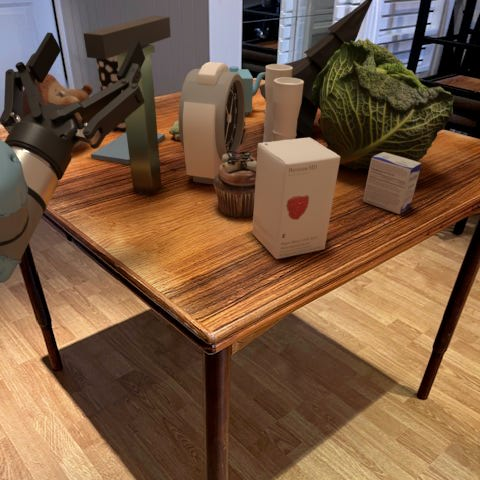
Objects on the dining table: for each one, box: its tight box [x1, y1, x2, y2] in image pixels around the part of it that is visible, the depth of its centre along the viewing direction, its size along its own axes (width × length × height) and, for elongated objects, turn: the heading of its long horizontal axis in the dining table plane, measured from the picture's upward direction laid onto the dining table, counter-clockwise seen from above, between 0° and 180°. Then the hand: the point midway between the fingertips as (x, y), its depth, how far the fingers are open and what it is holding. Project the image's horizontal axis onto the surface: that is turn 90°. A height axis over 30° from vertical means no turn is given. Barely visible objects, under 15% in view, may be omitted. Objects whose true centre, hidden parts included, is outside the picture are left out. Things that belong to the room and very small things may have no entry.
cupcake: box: [213, 150, 257, 219], centre depth 82 cm, size 10×10×10 cm
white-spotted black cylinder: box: [95, 55, 126, 133], centre depth 112 cm, size 8×8×20 cm
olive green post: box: [117, 44, 163, 196], centre depth 82 cm, size 5×5×24 cm
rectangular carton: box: [251, 137, 340, 260], centre depth 71 cm, size 9×9×15 cm
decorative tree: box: [259, 0, 373, 139], centre depth 110 cm, size 15×15×35 cm
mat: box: [90, 132, 166, 165], centre depth 107 cm, size 18×9×1 cm, turn 162°
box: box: [362, 152, 422, 215], centre depth 85 cm, size 8×4×9 cm, turn 47°
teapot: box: [228, 65, 266, 117], centre depth 128 cm, size 16×18×11 cm
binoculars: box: [262, 63, 304, 143], centre depth 95 cm, size 17×5×18 cm, turn 5°
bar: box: [83, 15, 171, 59], centre depth 74 cm, size 22×3×3 cm, turn 162°
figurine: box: [23, 73, 94, 153], centre depth 101 cm, size 14×16×15 cm
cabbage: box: [310, 37, 455, 170], centre depth 96 cm, size 25×24×23 cm
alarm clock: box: [178, 61, 246, 186], centre depth 90 cm, size 18×8×20 cm, turn 164°
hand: (96, 45), depth 66 cm, fingers open, 13 cm apart
